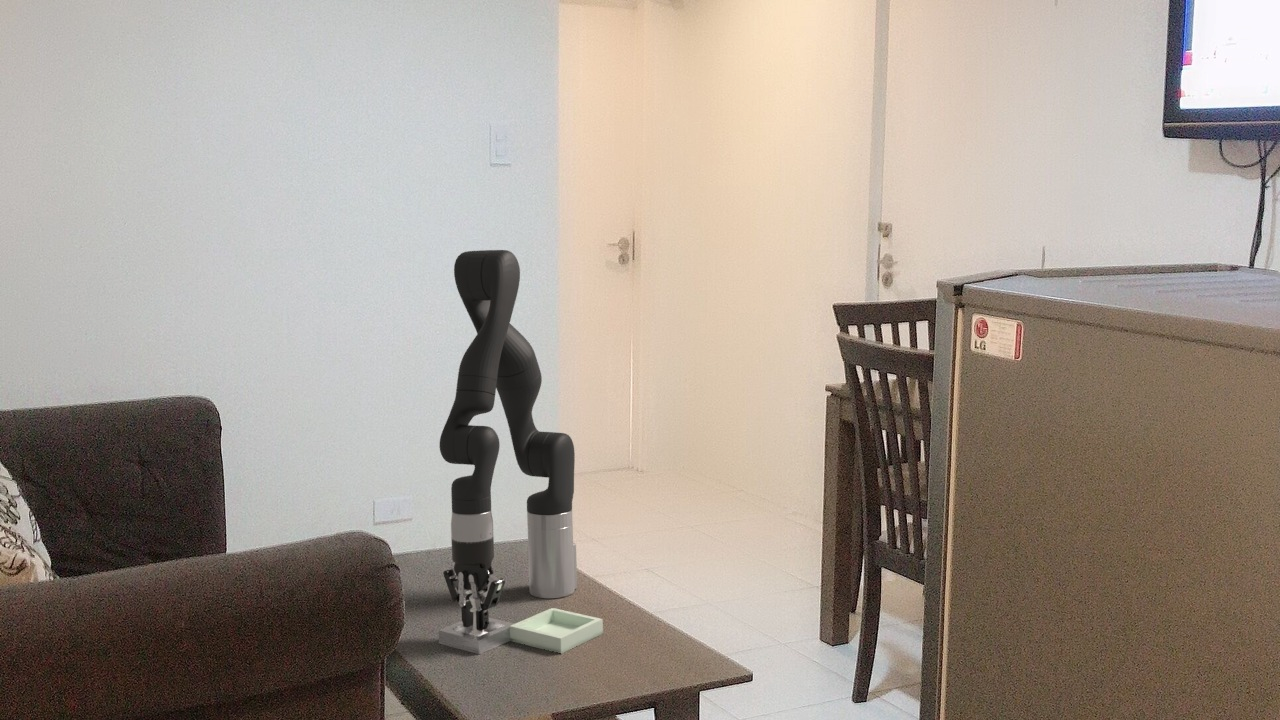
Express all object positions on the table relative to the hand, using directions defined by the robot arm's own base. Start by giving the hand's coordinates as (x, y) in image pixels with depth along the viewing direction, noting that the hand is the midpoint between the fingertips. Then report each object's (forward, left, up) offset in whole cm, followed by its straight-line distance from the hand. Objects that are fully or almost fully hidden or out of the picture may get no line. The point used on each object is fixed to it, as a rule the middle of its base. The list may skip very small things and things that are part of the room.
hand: (475, 627), depth 210 cm
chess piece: (0, +1, -3) cm, 3 cm away
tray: (-9, +12, -2) cm, 15 cm away
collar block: (0, +1, -2) cm, 3 cm away
